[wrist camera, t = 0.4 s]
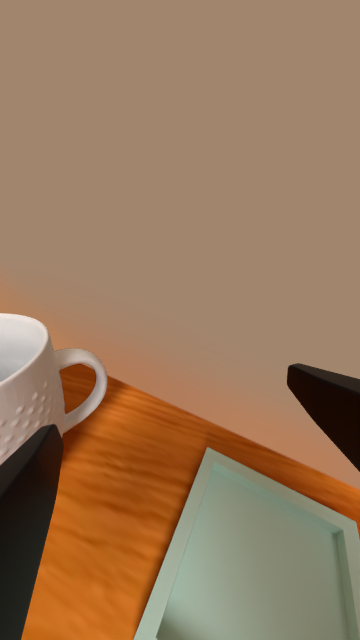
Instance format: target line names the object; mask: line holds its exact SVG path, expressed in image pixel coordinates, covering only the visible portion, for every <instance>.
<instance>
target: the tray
mask: <svg viewBox="0 0 360 640" xmlns="http://www.w3.org/2000/svg"><path fill="white" fill-rule="evenodd" d="M134 640H360V539H359V534H358V528H357V523H356V522H355V521H353V520H351V519H349V518H347V517H345V516H344V515H342V514H340V513H338V512H336V511H334V510H332V509H330V508H328V507H326V506H324V505H322V504H320V503H318V502H316V501H314V500H312V499H310V498H308V497H306V496H304V495H302V494H300V493H298V492H296V491H294V490H292V489H290V488H288V487H286V486H284V485H282V484H280V483H278V482H276V481H274V480H272V479H270V478H268V477H266V476H264V475H262V474H260V473H258V472H256V471H254V470H252V469H250V468H248V467H247V466H245V465H243V464H241V463H239V462H237V461H235V460H233V459H231V458H229V457H227V456H225V455H223V454H221V453H219V452H217V451H215V450H213V449H211V448H209V447H207V449H206V452H205V454H204V457H203V460H202V462H201V465H200V468H199V470H198V473H197V475H196V478H195V481H194V483H193V486H192V488H191V491H190V494H189V496H188V499H187V501H186V504H185V507H184V509H183V512H182V515H181V517H180V520H179V522H178V525H177V528H176V530H175V533H174V535H173V538H172V541H171V543H170V546H169V548H168V551H167V554H166V556H165V559H164V562H163V564H162V567H161V569H160V572H159V575H158V577H157V580H156V582H155V585H154V588H153V590H152V593H151V596H150V598H149V601H148V603H147V606H146V609H145V611H144V614H143V616H142V619H141V622H140V624H139V627H138V629H137V632H136V635H135V637H134Z"/></svg>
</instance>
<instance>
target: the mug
mask: <svg viewBox="0 0 360 640" xmlns="http://www.w3.org/2000/svg"><path fill="white" fill-rule="evenodd" d="M79 363H83V364H88V365H90V366H91V367H92V368H94V370H95V372H96V385H95V387H94V389H93V391H92V393H91V394H90V396H89V397H88V398H87V399H86V400H85V401H84V402H83V403H82V404H81V405H80V406H78V407H77V408H76V409H74V410H73V411H71V412H69V413H68V414H65V411H64V407H65V402H64V394H63V389H62V381H61V378H60V372H59V370H61V369H64V368H66V367H68V366H71V365H74V364H79ZM107 383H108V379H107V373H106V370H105V367H104V365H103V364H102V362H101V361H100V359H99V358H98V357H97V356H96V355H94V354H93V353H91V352H89V351H87V350H84V349H77V348H69V349H68V348H67V349H60V350H56V351H54V349H53V346H52V342H51V338H50V335H49V332H48V329H47V328H46V326H45V325H44V324H43V323H41V322H39V321H38V320H36V319H33V318H31V317H27V316H23V315H16V314H4V313H2V314H1V313H0V465H1V464H2V463H3V462H4V461H5V460H6V459H7V458H8V457H9V456H10V455H12V454H13V453H14V452H15V451H16V450H17V449H18V448H19V447H20V446H21V445H22V444H23V443H24V442H25V441H26V440H28V439H29V438H30V437H31V436H32V435H33V434H34V433H35V432H36V431H37V430H38V429H39V428H40V427H42V426H46V425H50V424H56V425H57V427H58V430H59V433H60V435H61V438H62V436H63V433H65V432H66V431H68V430H69V429H71V428H72V427H74V426H76V425H77V424H79V423H80V422H81V421H83V420H84V419H85V418H86V417H88V416H89V415H90V414H91V413H92V412H93V411H94V410H95V409H96V408H97V407H98V406H99V404H100V403H101V401H102V400H103V398H104V395H105V393H106V389H107Z"/></svg>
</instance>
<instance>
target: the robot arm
mask: <svg viewBox="0 0 360 640" xmlns="http://www.w3.org/2000/svg"><path fill="white" fill-rule="evenodd" d="M287 385H288V387H289V389H290V390H291V391H292V393H293V394H294V395H295V397H296V398H297V399H298V401H299V402H300V403H301V405H302V406H303V407H304V408H305V410H306V411H307V413H308V414H309V415H310V417H311V418H312V419H313V420H314V421H315V422H316V424H317V425H318V426H319V427H320V428H321V429H322V430H323V432H324V433H325V434H326V435H327V436H328V437H329V438H330V439H331V441H333V443H334V444H335V445H336V446H337V447H338V448H339V449H340V450H341V452H342V453H343V454H344V455H345V456H346V457H347V458H348V459H349V460H350V462H351V463H352V464H353V465H354V466H355V467H356V468H357V469H358V470H359V472H360V379H357V378H353V377H349V376H345V375H341V374H338V373H334V372H330V371H326V370H322V369H319V368H315V367H311V366H307V365H303V364H299V363H298V364H293V365H290V366H289V367H288V374H287ZM62 455H63V440H62V438H61V435H60V433H59V430H58V427H57V425H56V424H50V425H46V426H42V427H40V428H39V429H38V430H37V431H36V432H35V433H34V434H33V435H32V436H31V437H30V438H29V439H28V440H26V441H25V442H24V443H23V444H22V445H21V446H20V447H19V448H18V449H17V450H16V451H15V452H14V453H13V454H12V455H10V456H9V457H8V458H7V459H6V460H5V461H4V462H3V463H2V464H1V465H0V640H21V637H22V633H23V629H24V625H25V621H26V617H27V613H28V609H29V605H30V601H31V597H32V593H33V589H34V585H35V581H36V577H37V573H38V569H39V565H40V561H41V557H42V553H43V549H44V545H45V541H46V537H47V533H48V529H49V525H50V521H51V517H52V513H53V509H54V505H55V500H56V495H57V489H58V482H59V475H60V468H61V461H62Z"/></svg>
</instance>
